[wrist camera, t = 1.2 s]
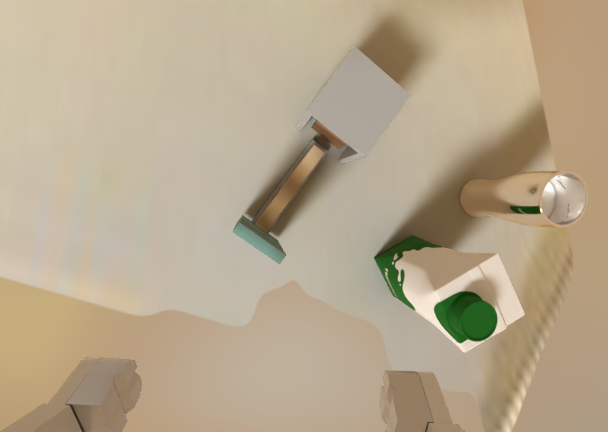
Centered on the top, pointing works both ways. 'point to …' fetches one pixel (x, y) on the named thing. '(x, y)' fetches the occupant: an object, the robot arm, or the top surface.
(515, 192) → the beer glass
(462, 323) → the milk carton
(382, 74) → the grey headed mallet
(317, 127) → the walnut block
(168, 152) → the top surface
